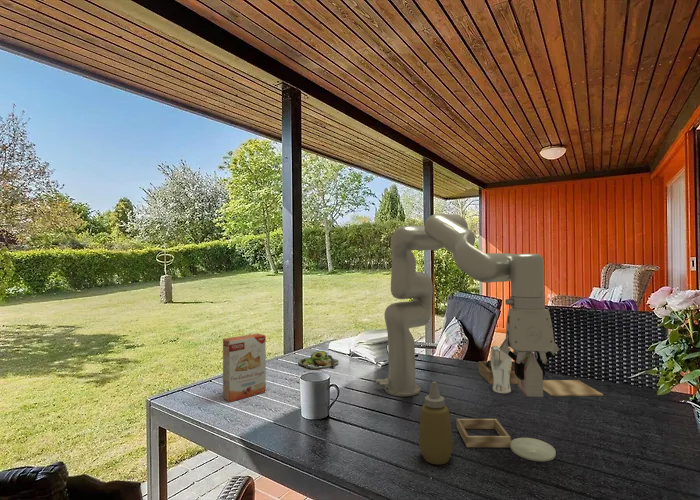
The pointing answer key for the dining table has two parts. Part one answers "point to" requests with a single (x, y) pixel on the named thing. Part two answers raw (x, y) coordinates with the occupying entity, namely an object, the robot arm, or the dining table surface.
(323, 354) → the salad plate
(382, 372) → the dining table surface
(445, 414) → the squeeze bottle
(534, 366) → the gable top carton
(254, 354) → the cracker box
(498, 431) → the holder
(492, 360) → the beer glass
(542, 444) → the coaster
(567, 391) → the wooden board
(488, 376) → the display tray
